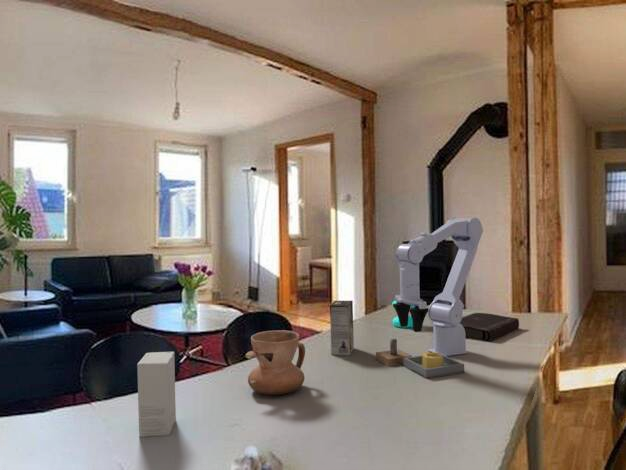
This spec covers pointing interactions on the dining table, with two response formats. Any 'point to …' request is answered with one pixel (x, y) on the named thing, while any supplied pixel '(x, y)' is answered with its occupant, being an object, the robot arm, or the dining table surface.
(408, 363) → the tray
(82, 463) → the dining table surface
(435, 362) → the ring
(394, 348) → the block
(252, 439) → the dining table surface
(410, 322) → the donuts
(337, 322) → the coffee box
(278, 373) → the ceramic jug
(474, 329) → the diary
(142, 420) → the skincare box
